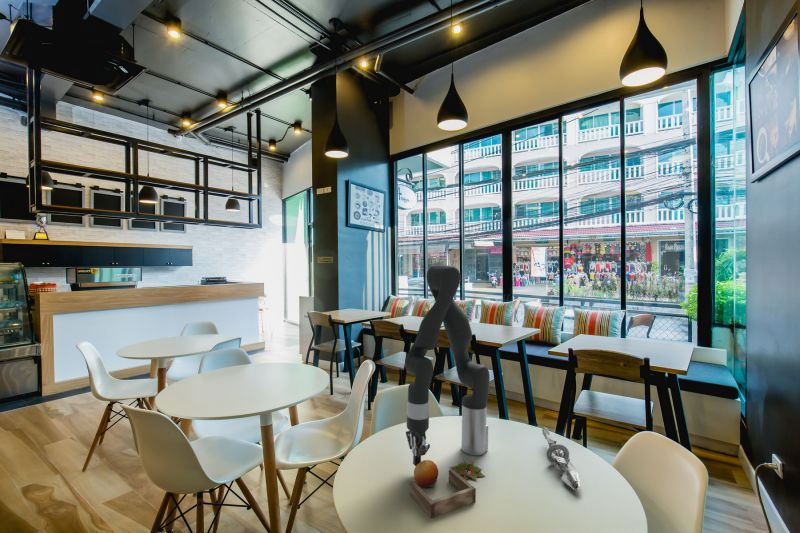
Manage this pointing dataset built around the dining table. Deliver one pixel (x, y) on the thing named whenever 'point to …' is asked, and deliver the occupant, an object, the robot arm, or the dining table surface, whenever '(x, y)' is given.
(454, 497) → the brown wooden u-shaped frame
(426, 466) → the fruit
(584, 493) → the dining table surface
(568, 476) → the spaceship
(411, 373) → the robot arm
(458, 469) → the lily flower
